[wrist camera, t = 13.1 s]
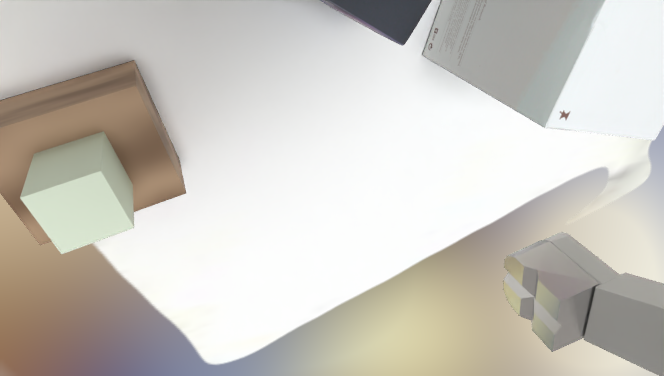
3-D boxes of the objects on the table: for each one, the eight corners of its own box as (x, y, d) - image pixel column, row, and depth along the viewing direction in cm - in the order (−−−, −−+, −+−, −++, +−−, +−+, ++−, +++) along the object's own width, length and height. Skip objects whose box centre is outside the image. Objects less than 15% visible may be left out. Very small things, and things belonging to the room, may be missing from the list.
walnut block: (-20, 106, 37) (-41, 140, 32) (134, 60, 39) (136, 85, 34) (49, 204, 43) (40, 245, 38) (179, 160, 45) (186, 193, 40)
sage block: (33, 153, 34) (19, 198, 30) (103, 131, 35) (100, 170, 30) (69, 206, 37) (61, 254, 33) (132, 184, 38) (134, 227, 33)
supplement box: (514, 75, 54) (654, 146, 40) (418, 56, 48) (541, 132, 34) (590, -97, 46) (798, -84, 32) (485, -143, 40) (682, -152, 26)
